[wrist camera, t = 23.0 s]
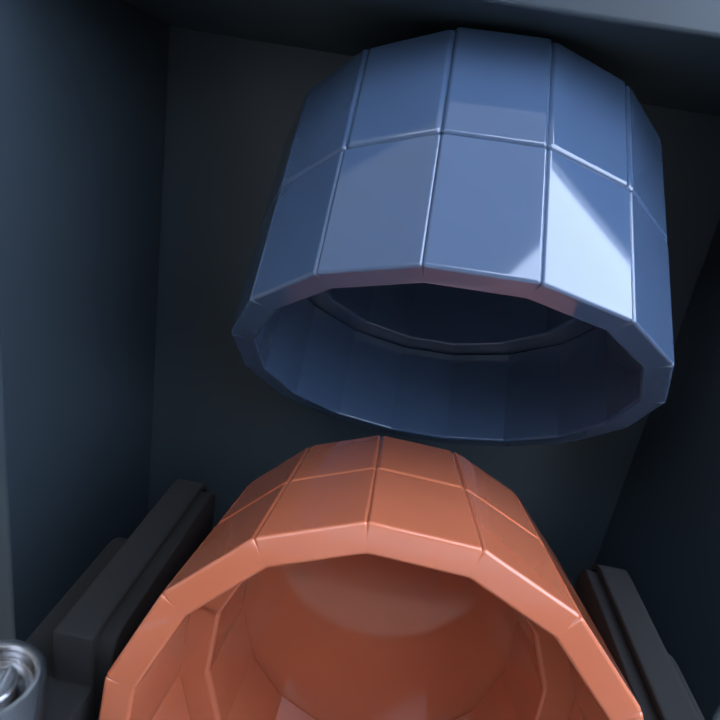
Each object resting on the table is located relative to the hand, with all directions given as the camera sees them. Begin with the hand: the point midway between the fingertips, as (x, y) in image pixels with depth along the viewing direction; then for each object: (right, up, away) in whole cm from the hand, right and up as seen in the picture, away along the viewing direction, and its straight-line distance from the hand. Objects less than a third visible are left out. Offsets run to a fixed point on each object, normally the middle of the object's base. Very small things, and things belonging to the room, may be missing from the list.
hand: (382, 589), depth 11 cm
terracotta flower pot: (0, 0, 0) cm, 0 cm away
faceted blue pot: (+2, +8, 0) cm, 8 cm away
